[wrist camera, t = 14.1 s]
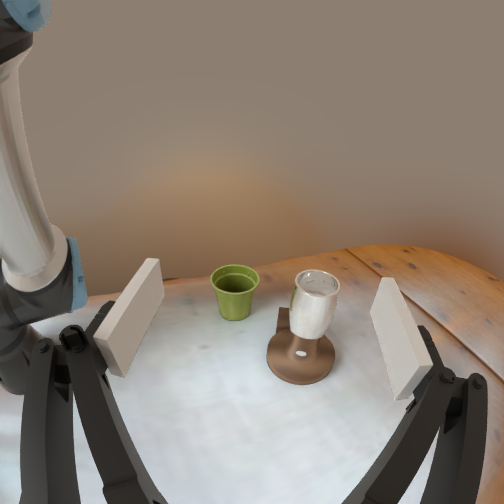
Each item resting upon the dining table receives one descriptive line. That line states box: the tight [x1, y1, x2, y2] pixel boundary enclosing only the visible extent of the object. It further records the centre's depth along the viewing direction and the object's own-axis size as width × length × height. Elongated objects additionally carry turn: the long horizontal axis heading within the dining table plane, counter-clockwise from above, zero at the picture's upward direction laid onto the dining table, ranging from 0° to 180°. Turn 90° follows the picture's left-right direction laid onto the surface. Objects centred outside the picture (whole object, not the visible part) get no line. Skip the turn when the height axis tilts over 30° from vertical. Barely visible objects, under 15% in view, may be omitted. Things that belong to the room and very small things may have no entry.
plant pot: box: [210, 265, 260, 321], centre depth 56 cm, size 9×9×9 cm
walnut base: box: [267, 307, 335, 385], centre depth 46 cm, size 13×12×6 cm
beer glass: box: [285, 270, 340, 364], centre depth 43 cm, size 7×7×15 cm
